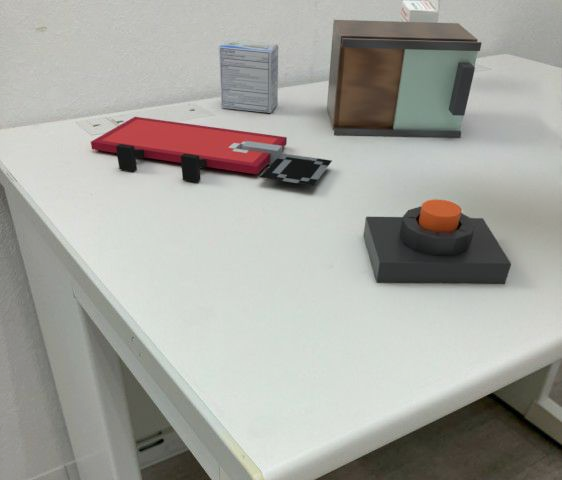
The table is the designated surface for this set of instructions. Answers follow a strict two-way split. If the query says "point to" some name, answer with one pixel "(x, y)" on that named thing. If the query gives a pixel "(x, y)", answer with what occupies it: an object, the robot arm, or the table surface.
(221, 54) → the medicine box
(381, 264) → the button block
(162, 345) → the table surface
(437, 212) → the orange button
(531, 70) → the table surface
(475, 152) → the table surface
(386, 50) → the cabinet
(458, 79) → the sliding door
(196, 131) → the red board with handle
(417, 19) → the ink cartridge box
